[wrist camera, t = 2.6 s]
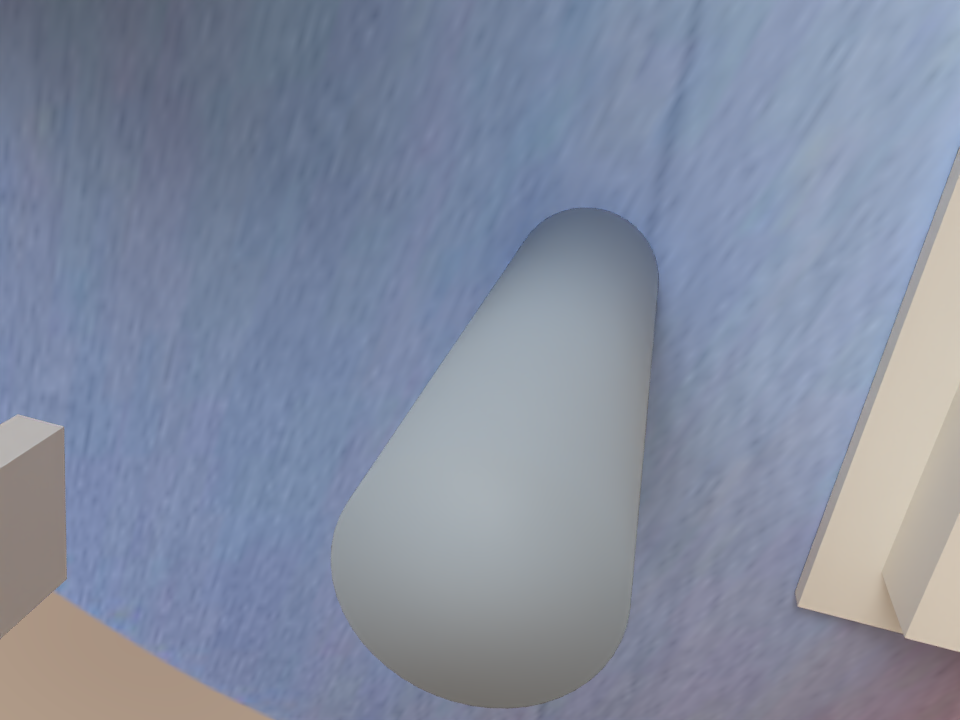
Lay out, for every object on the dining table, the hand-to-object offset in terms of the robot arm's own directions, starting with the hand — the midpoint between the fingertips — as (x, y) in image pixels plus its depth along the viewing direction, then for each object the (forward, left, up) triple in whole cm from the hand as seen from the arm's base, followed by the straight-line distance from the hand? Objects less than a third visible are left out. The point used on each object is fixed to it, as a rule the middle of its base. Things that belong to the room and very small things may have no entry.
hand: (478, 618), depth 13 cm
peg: (0, 0, -16) cm, 16 cm away
